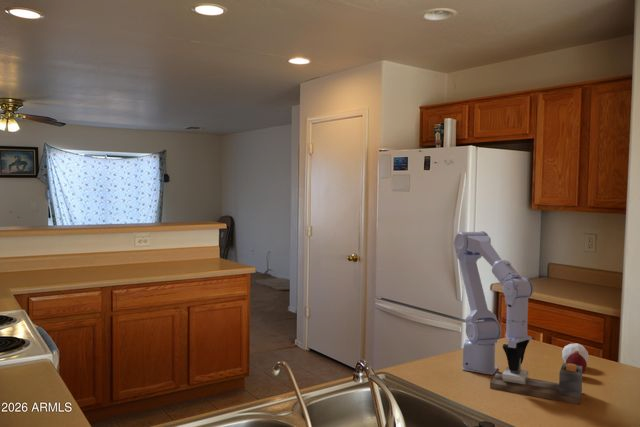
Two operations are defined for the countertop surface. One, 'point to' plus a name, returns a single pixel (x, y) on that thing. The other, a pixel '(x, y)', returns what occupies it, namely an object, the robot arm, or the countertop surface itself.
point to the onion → (577, 360)
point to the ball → (572, 348)
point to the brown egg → (571, 367)
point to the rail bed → (546, 386)
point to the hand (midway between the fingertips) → (515, 366)
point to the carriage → (515, 375)
